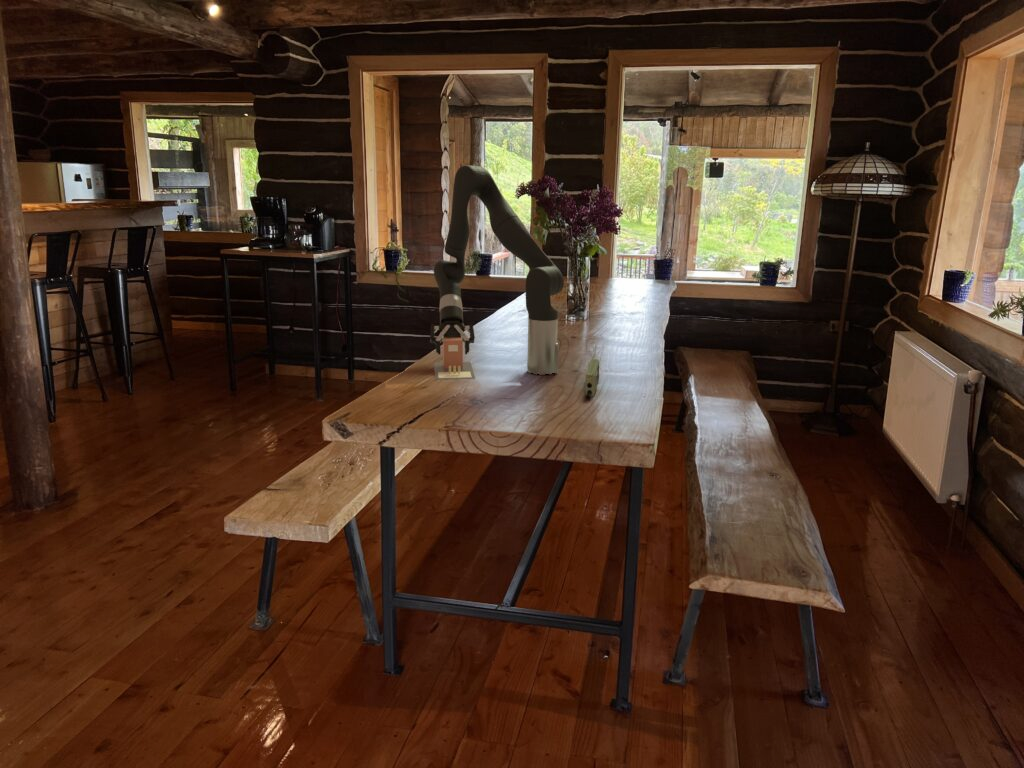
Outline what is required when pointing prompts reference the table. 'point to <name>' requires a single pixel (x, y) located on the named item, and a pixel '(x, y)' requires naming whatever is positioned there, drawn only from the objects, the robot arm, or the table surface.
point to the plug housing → (452, 352)
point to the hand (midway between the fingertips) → (452, 353)
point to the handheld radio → (592, 378)
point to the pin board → (453, 371)
